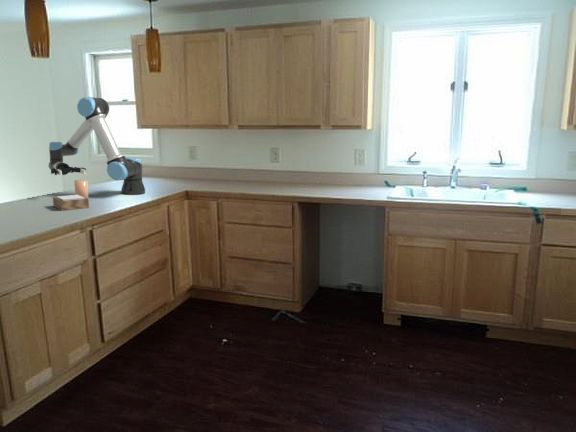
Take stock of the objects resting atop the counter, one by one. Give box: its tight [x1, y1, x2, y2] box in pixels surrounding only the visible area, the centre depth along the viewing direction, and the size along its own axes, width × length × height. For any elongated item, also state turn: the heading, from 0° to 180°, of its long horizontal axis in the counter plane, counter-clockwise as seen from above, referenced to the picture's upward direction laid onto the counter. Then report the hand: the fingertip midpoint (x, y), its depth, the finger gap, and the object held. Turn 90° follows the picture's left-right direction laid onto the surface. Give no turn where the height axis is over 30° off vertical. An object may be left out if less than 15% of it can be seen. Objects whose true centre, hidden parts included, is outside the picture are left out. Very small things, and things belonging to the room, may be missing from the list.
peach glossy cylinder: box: [74, 179, 90, 201], centre depth 270 cm, size 7×7×12 cm
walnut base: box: [52, 194, 90, 212], centre depth 252 cm, size 14×14×6 cm
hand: (73, 172), depth 275 cm, fingers open, 13 cm apart
